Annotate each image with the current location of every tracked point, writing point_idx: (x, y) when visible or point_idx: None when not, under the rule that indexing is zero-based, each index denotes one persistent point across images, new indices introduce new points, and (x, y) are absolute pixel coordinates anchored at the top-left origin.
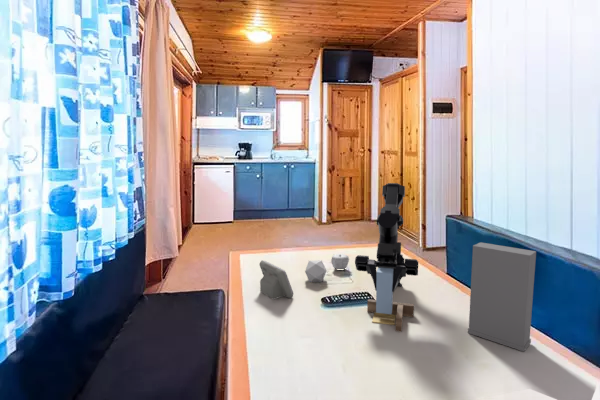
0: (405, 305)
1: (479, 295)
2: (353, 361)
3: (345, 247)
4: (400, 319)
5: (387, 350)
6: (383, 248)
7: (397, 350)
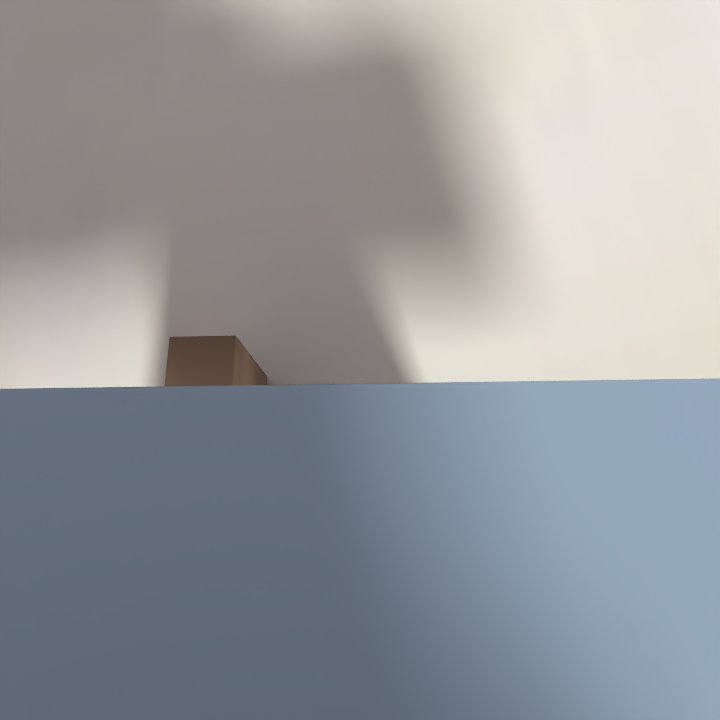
0: None
1: None
2: None
3: None
4: (182, 340)
5: (323, 59)
6: None
7: (251, 80)
